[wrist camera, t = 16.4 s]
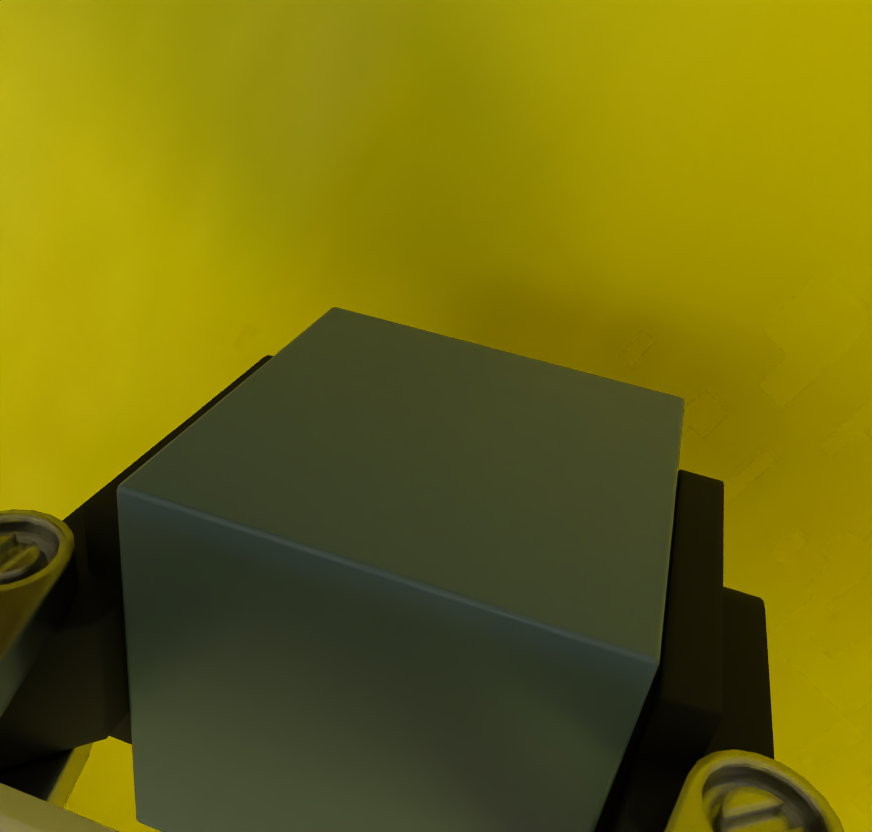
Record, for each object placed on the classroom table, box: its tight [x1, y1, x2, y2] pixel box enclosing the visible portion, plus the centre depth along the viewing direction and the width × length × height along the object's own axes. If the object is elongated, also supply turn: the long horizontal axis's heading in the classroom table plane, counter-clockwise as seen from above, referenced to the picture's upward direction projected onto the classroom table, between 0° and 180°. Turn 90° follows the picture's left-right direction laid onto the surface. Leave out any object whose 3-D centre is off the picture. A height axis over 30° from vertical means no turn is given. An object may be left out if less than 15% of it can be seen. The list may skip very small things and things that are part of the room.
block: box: [117, 307, 685, 832], centre depth 10 cm, size 5×5×5 cm
